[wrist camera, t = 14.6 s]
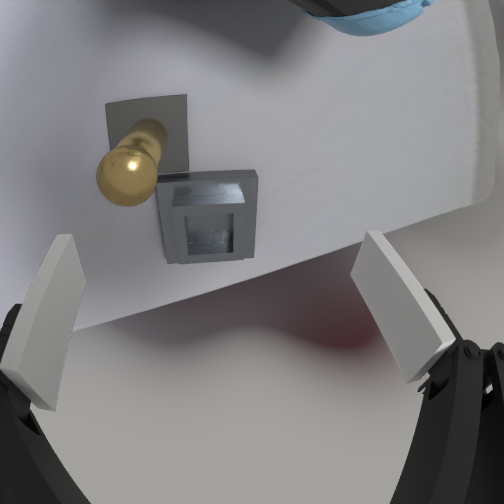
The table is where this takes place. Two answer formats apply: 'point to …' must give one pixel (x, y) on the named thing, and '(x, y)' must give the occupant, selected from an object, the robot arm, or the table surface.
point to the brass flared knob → (133, 164)
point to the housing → (208, 215)
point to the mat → (163, 110)
